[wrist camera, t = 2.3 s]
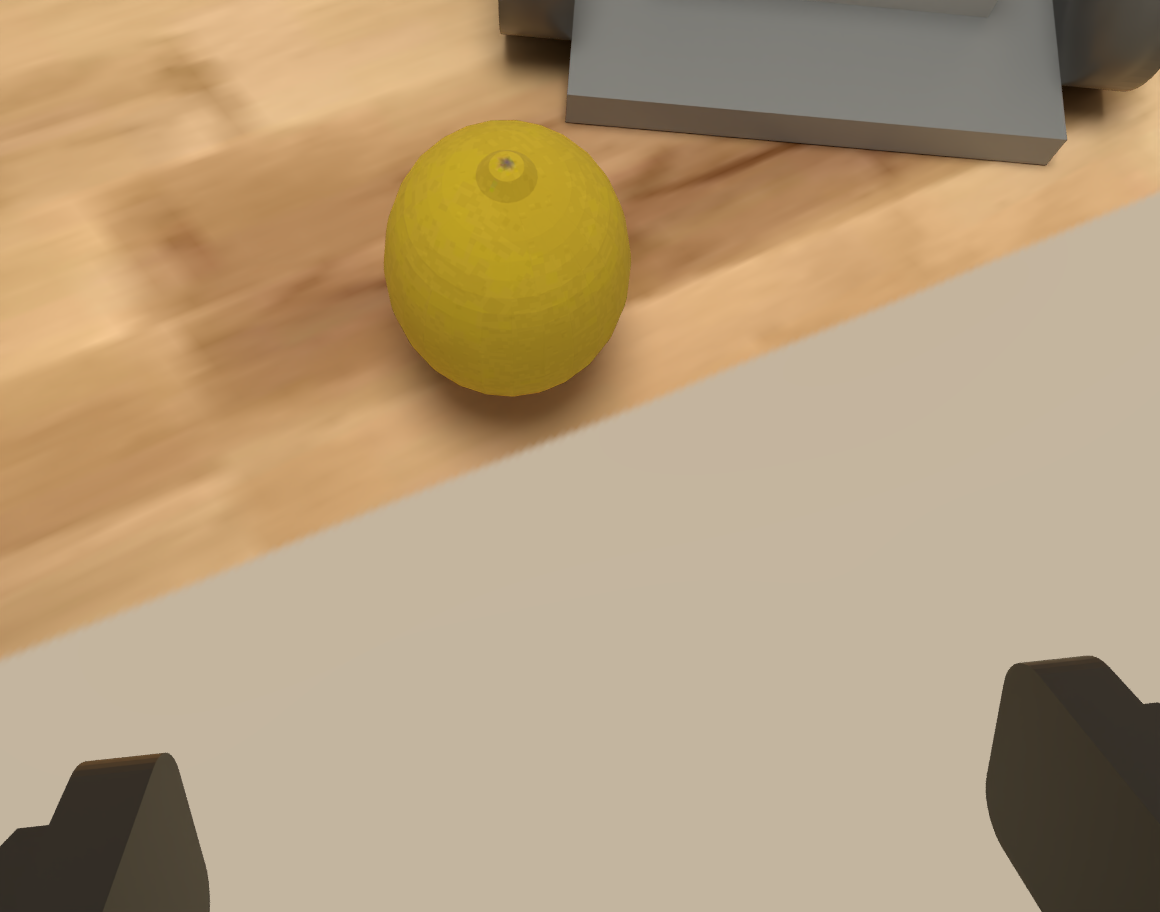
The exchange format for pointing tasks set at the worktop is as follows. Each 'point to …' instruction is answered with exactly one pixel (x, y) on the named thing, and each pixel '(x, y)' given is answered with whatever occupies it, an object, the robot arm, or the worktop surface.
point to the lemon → (507, 258)
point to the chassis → (847, 67)
